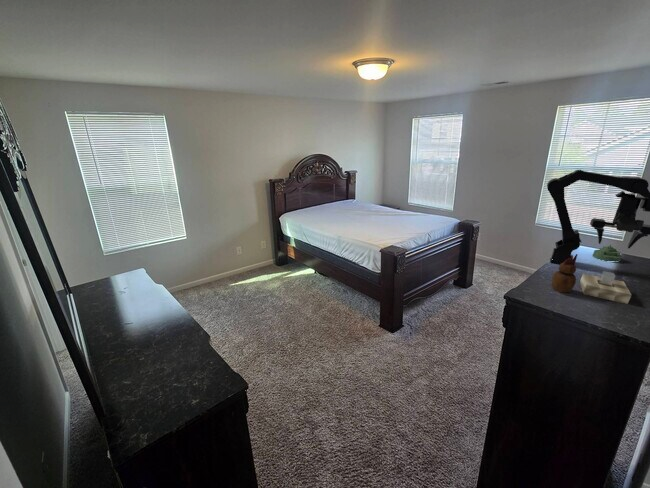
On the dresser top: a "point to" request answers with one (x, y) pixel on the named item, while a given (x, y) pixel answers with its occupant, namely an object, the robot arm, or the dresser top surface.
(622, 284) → the hole block
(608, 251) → the decorative artifact
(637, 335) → the dresser top surface
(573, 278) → the wooden figurine
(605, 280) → the pin
